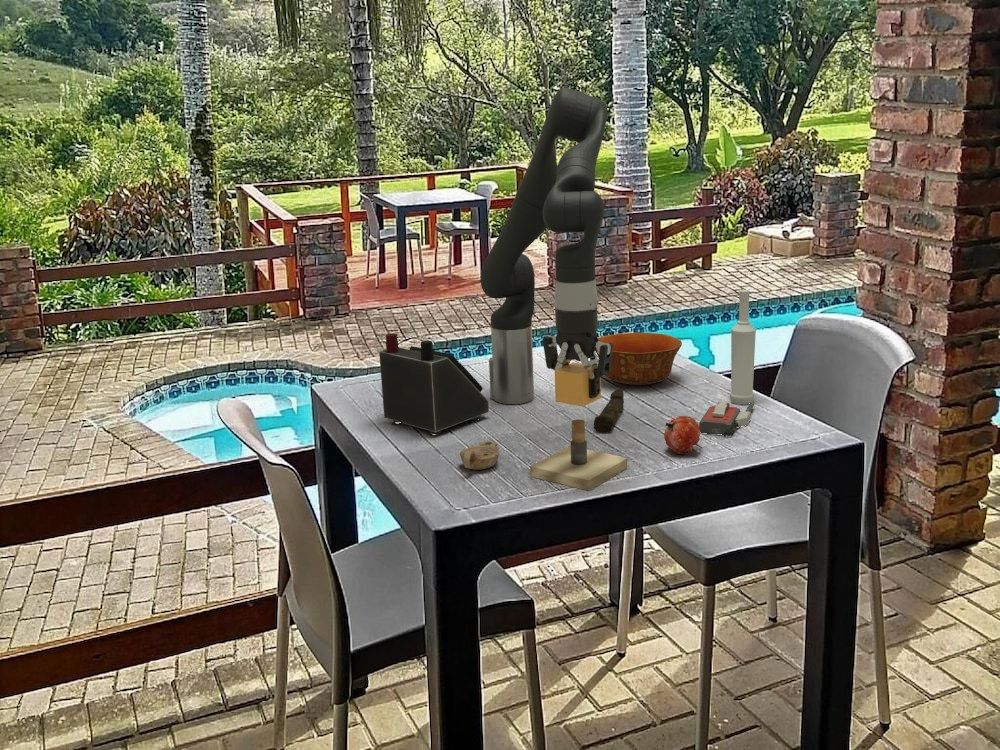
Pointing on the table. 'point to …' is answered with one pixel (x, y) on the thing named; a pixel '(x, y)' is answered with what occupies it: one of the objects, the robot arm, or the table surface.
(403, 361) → the voltmeter
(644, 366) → the bowl
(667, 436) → the pomegranate
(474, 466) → the oil lamp
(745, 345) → the bottle
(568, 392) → the mustard yellow cube
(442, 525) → the table surface
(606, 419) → the hand tool
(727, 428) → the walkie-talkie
